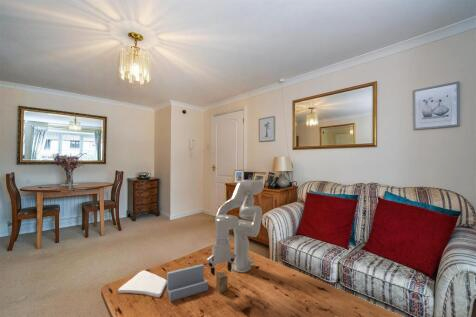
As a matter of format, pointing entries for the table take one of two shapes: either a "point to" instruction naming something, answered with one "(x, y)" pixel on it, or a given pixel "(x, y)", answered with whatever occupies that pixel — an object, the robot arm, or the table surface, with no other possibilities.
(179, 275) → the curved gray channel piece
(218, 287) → the brown block
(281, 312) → the table surface
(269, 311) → the table surface
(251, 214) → the robot arm
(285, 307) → the table surface
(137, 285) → the flat white fragment
